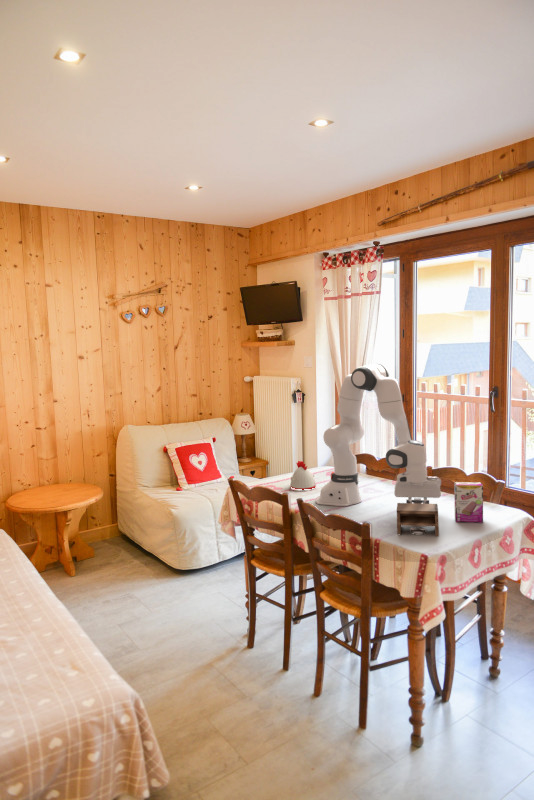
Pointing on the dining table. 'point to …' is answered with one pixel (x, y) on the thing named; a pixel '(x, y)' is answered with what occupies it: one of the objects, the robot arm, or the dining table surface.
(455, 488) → the candy bar box
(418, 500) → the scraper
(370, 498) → the dining table surface
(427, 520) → the walnut cabinet
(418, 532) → the steel puck
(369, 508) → the dining table surface
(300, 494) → the dining table surface
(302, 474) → the kitchen timer
